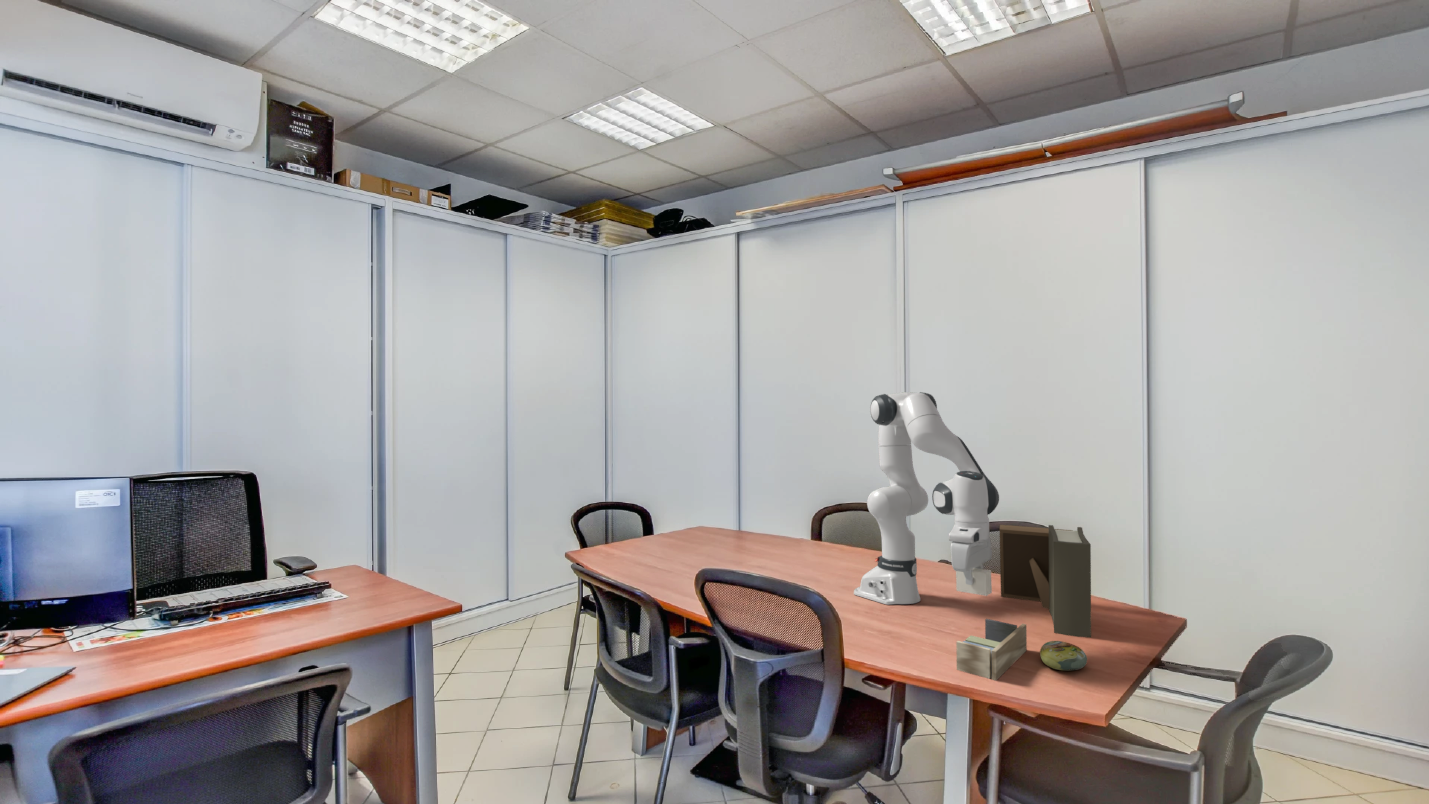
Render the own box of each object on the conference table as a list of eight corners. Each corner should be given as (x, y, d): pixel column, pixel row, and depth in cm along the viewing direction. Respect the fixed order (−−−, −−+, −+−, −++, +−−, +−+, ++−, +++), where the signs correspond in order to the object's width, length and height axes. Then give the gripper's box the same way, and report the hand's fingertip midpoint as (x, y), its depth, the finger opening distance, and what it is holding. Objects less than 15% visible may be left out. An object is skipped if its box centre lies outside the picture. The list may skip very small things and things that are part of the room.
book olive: (965, 662, 161) (965, 639, 161) (971, 658, 164) (970, 635, 164) (997, 671, 156) (997, 647, 156) (1002, 666, 159) (1002, 643, 159)
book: (1091, 640, 177) (1090, 542, 176) (1054, 635, 181) (1053, 540, 180) (1082, 615, 196) (1082, 527, 196) (1049, 611, 200) (1048, 525, 200)
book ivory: (956, 590, 171) (955, 568, 171) (962, 587, 174) (961, 566, 174) (986, 595, 165) (985, 573, 166) (991, 592, 168) (990, 570, 168)
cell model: (1033, 660, 156) (1039, 624, 167) (1042, 685, 157) (1048, 647, 169) (1080, 662, 150) (1083, 624, 161) (1089, 688, 151) (1091, 648, 162)
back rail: (956, 669, 156) (956, 641, 157) (990, 641, 175) (990, 616, 175) (996, 680, 150) (995, 651, 150) (1026, 650, 169) (1026, 624, 169)
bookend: (985, 644, 172) (985, 619, 172) (993, 637, 177) (993, 613, 177) (1016, 652, 167) (1016, 626, 167) (1024, 644, 172) (1023, 619, 172)
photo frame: (1001, 593, 219) (1001, 522, 220) (1072, 602, 209) (1071, 527, 210) (999, 604, 206) (998, 528, 207) (1074, 614, 196) (1073, 534, 197)
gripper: (974, 524, 180) (975, 572, 179) (945, 535, 165) (947, 588, 164) (996, 527, 176) (998, 576, 175) (970, 538, 160) (971, 592, 160)
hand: (973, 582), depth 170 cm, fingers closed on book ivory, 4 cm apart
